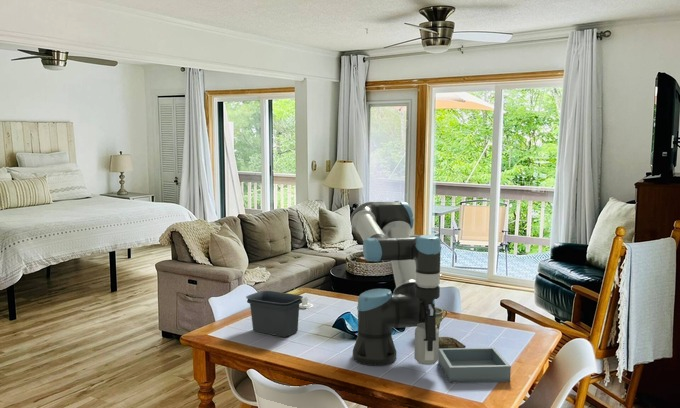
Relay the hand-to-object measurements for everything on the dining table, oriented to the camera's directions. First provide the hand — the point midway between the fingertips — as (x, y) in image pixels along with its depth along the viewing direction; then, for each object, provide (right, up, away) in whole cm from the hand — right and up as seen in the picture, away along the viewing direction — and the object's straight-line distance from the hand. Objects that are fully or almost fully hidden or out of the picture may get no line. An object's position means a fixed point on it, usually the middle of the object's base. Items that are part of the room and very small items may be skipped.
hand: (426, 354), depth 176 cm
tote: (+15, -6, +3) cm, 17 cm away
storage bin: (-53, -3, +44) cm, 69 cm away
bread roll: (+11, -5, +23) cm, 26 cm away
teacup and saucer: (-47, 0, +77) cm, 90 cm away
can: (0, -2, 0) cm, 2 cm away
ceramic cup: (+8, -3, +39) cm, 40 cm away
